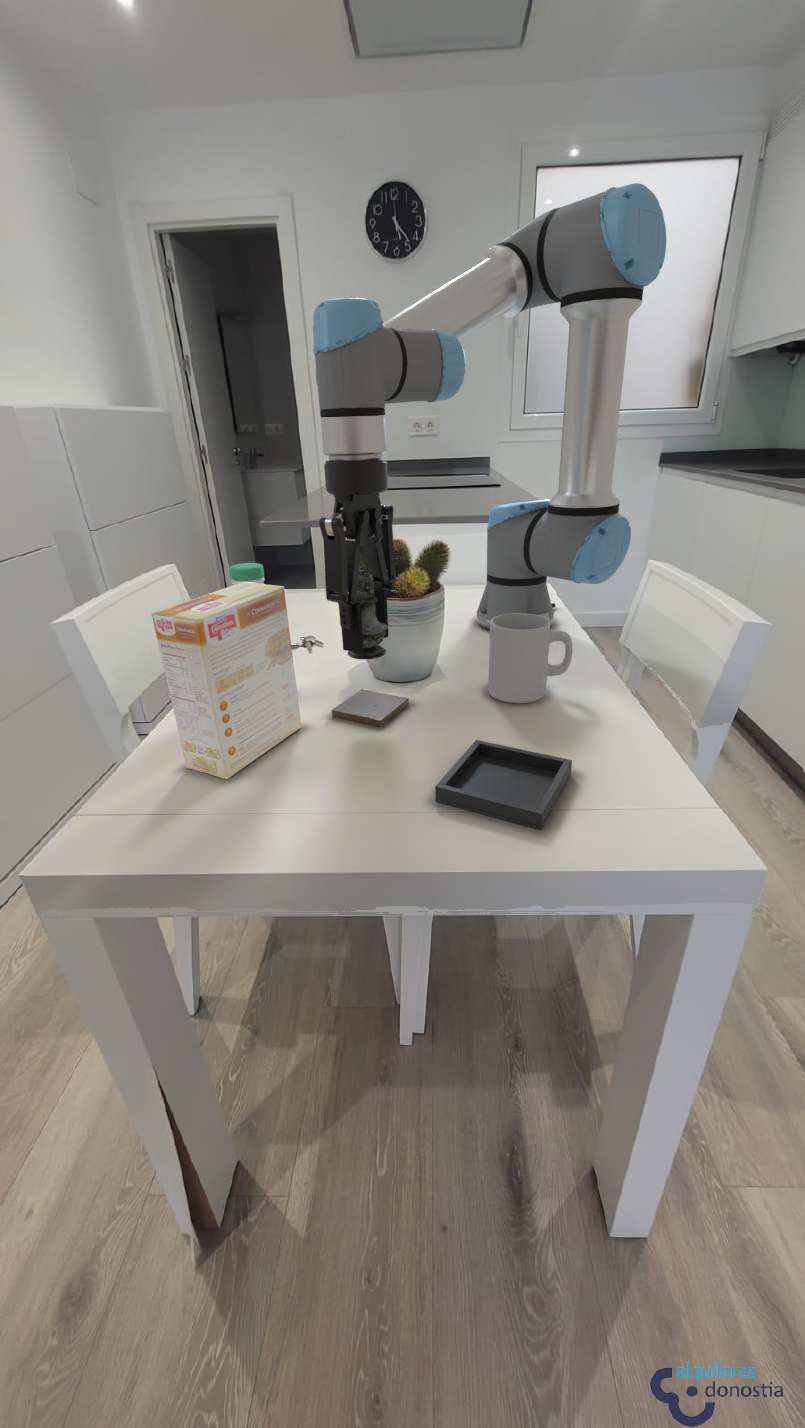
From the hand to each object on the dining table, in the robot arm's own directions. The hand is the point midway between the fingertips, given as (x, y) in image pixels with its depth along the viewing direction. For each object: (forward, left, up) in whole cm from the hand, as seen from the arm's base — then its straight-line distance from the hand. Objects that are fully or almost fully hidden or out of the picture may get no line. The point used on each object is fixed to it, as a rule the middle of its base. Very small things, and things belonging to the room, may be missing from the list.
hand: (366, 642), depth 81 cm
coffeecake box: (+16, -9, -10) cm, 21 cm away
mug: (-15, +18, -10) cm, 26 cm away
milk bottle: (+3, -17, -10) cm, 20 cm away
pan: (+11, +24, -10) cm, 28 cm away
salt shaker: (0, 0, -2) cm, 2 cm away
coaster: (0, 0, -10) cm, 10 cm away
